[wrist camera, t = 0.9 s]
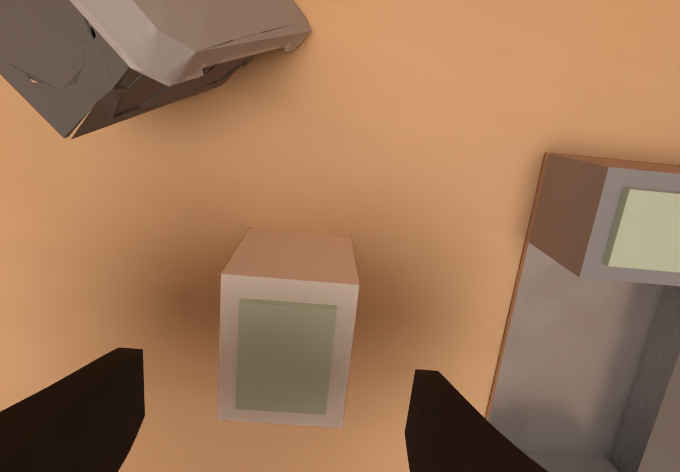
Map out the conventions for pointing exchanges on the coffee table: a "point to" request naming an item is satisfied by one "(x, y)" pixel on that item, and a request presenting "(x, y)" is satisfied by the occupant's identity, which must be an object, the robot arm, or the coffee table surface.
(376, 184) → the coffee table surface
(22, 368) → the coffee table surface
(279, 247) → the block
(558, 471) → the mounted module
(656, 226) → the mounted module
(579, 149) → the coffee table surface
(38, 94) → the electrical switch
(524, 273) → the rail
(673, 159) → the coffee table surface
